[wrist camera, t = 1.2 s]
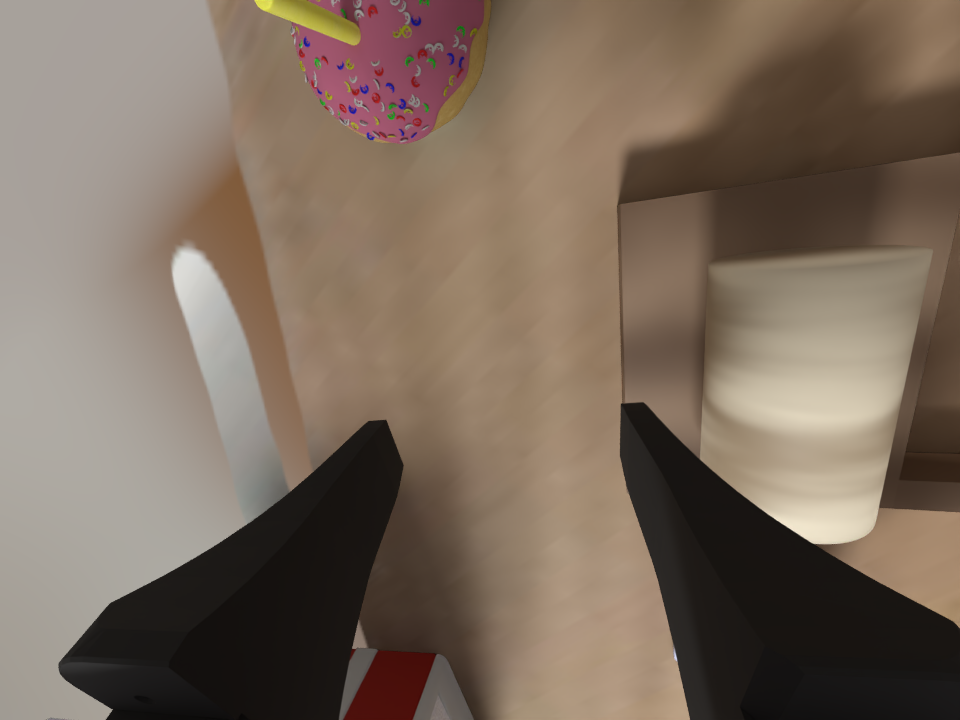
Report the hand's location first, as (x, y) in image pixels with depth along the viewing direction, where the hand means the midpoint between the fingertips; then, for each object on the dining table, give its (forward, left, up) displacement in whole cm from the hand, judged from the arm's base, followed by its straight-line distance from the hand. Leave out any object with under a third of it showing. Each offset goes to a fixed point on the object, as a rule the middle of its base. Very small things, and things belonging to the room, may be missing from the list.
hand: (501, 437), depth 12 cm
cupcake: (+15, +5, -12) cm, 20 cm away
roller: (-1, -10, -7) cm, 12 cm away
